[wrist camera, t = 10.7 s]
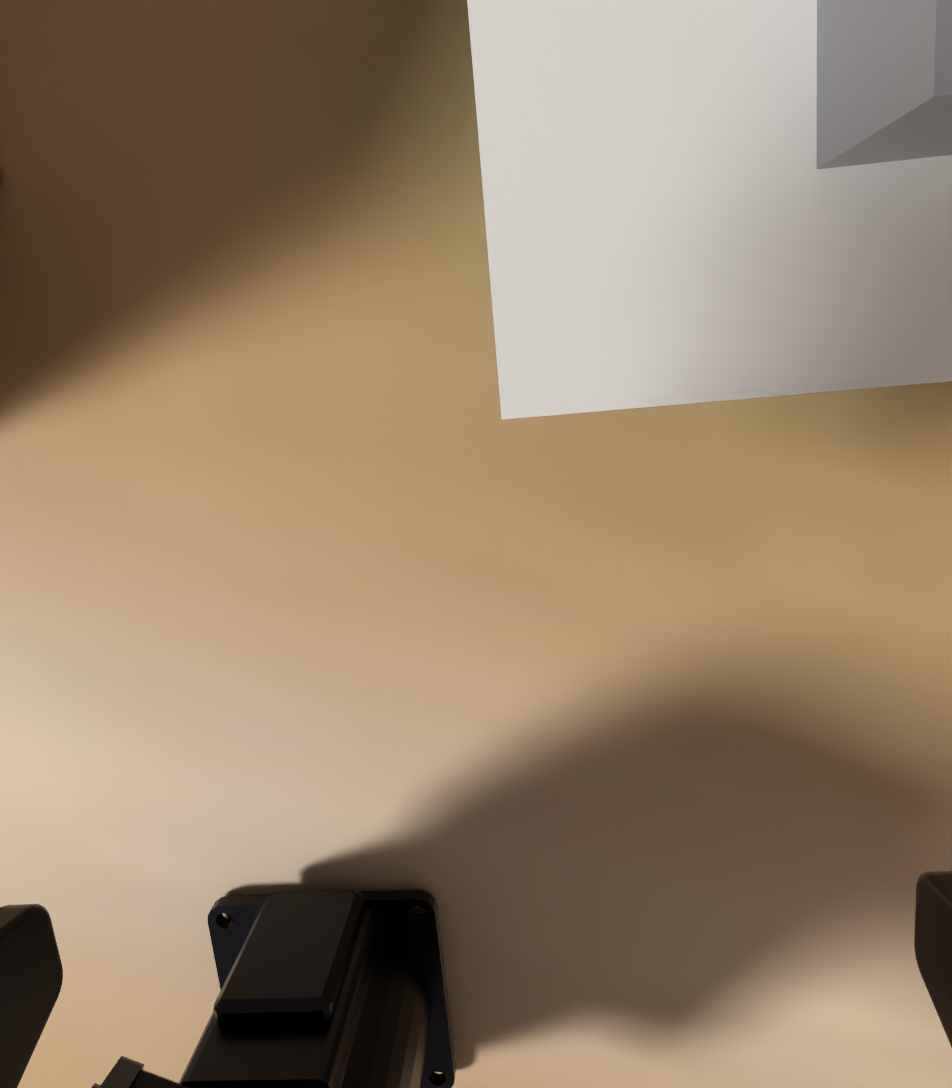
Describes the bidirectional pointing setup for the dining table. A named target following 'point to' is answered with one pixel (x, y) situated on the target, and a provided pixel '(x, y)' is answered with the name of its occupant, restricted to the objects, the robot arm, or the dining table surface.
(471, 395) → the dining table surface
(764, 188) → the lid
